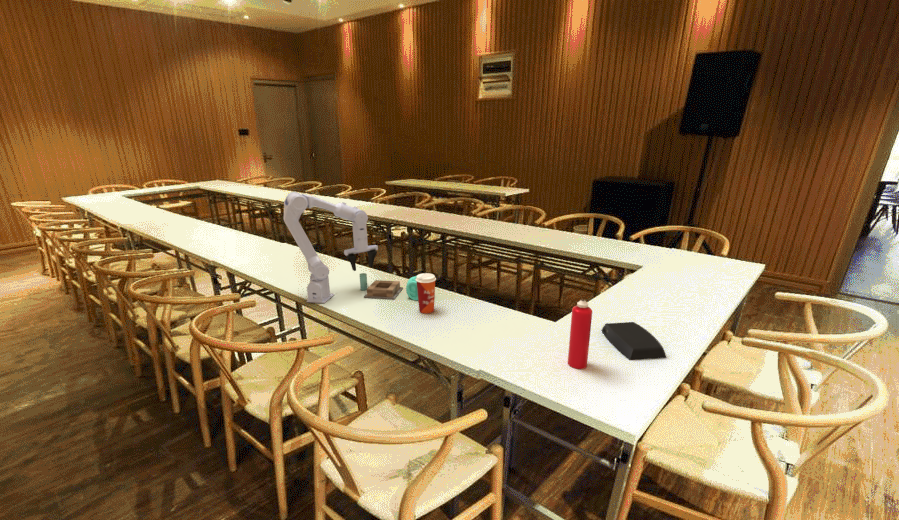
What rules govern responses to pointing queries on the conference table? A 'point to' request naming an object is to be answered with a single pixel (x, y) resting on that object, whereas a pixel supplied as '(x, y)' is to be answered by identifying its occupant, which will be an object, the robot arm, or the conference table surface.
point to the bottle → (579, 335)
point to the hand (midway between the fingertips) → (362, 268)
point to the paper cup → (426, 292)
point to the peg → (363, 281)
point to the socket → (383, 290)
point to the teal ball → (412, 288)
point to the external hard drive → (633, 341)
